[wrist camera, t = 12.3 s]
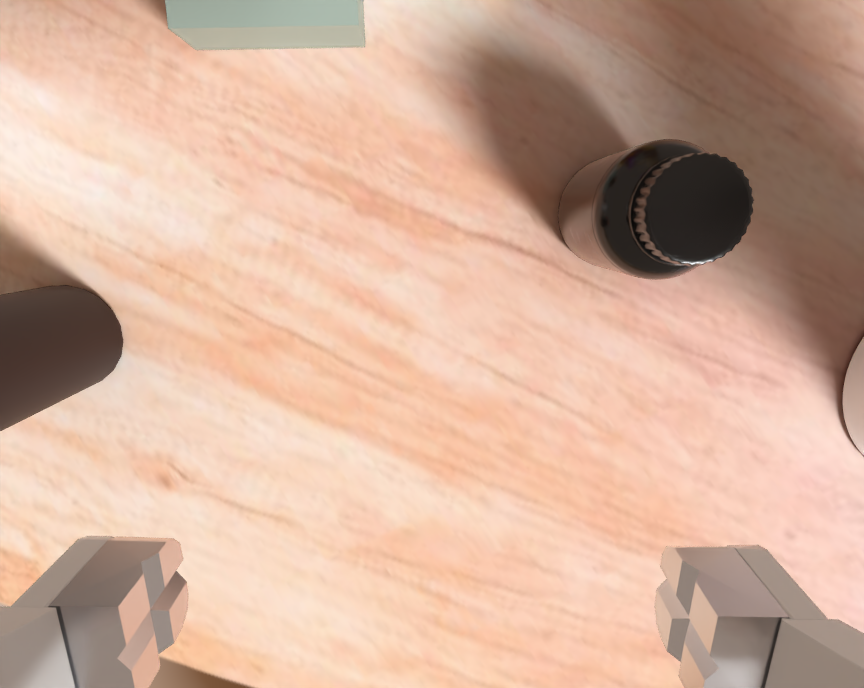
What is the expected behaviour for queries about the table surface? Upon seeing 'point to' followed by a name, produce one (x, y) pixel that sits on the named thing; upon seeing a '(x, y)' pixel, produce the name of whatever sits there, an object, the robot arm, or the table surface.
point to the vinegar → (52, 348)
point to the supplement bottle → (655, 209)
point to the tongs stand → (267, 23)
